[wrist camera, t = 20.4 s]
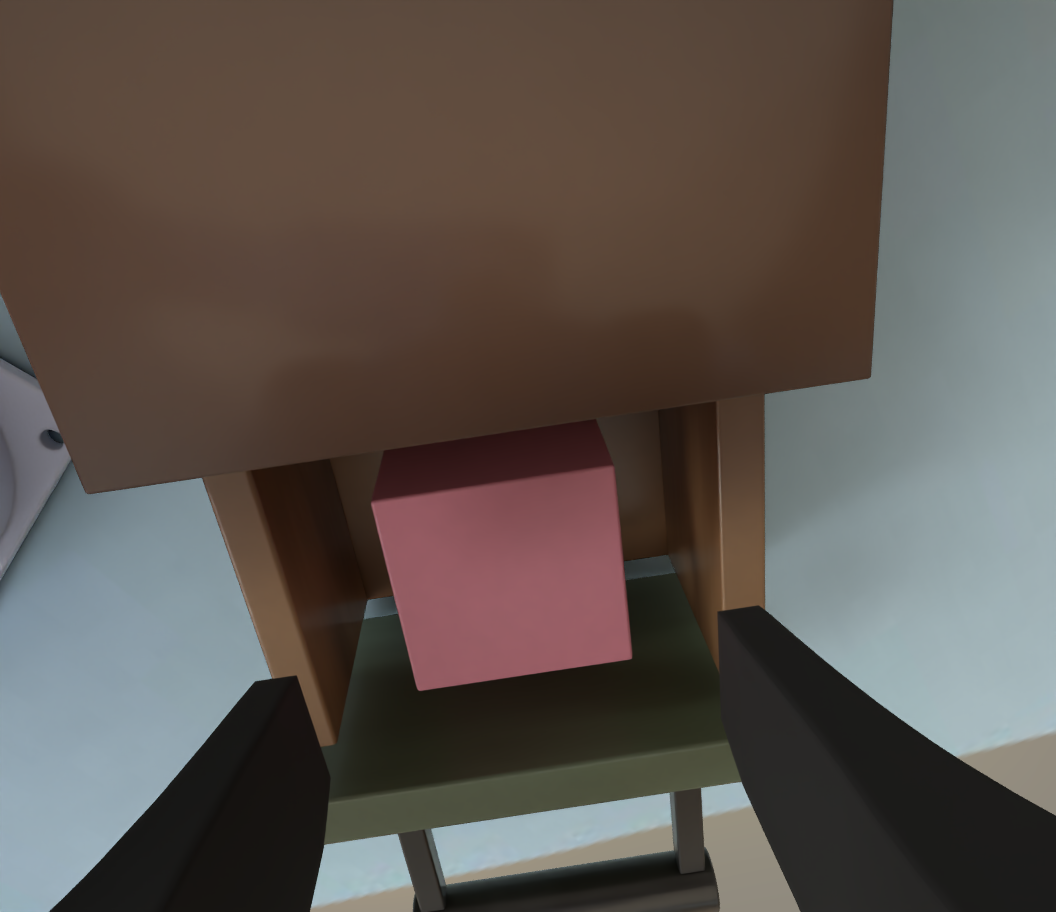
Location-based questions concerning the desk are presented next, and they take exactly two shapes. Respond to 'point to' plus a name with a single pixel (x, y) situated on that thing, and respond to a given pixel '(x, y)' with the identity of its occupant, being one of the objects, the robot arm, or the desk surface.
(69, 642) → the desk surface
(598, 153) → the cabinet
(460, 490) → the block
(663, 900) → the drawer
